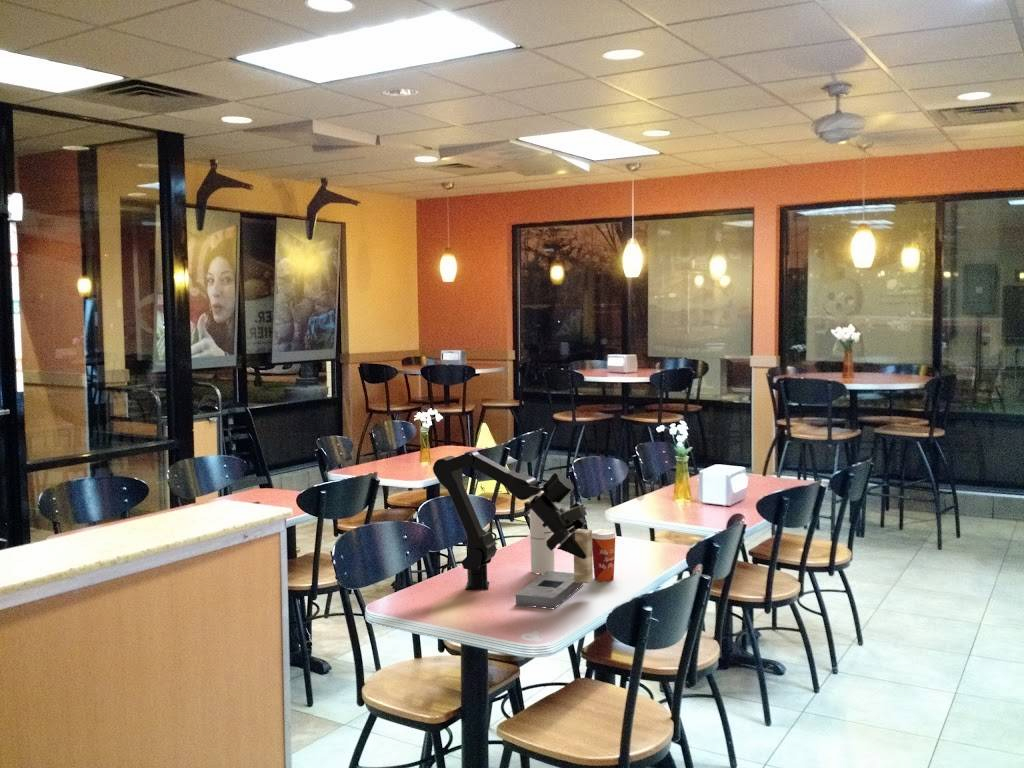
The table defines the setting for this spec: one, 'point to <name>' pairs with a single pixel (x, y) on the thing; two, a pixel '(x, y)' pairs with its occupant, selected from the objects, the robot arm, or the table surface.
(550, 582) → the socket plate
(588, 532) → the maple peg
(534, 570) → the cylindrical container
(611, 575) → the paper cup
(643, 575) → the table surface
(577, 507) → the robot arm
